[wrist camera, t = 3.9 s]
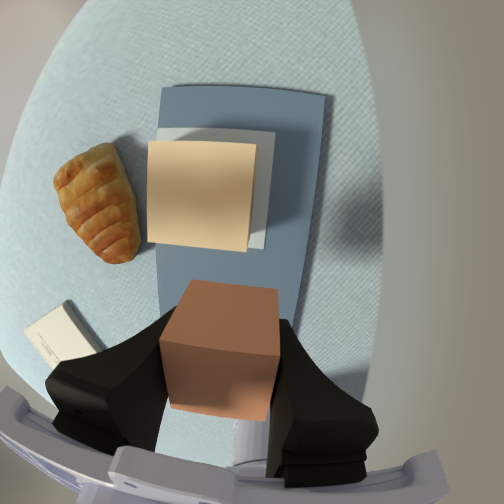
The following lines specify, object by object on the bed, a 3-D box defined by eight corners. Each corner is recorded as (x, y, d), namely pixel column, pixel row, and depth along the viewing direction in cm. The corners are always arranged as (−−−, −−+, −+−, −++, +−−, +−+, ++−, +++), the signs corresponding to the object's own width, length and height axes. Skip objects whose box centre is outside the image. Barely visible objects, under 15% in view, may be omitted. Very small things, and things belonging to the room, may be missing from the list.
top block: (267, 353, 14) (265, 421, 10) (193, 344, 14) (170, 407, 10) (277, 289, 13) (280, 356, 8) (191, 279, 13) (158, 339, 8)
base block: (250, 234, 19) (246, 252, 16) (167, 226, 19) (147, 242, 16) (258, 145, 17) (256, 144, 13) (169, 141, 17) (148, 140, 14)
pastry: (166, 240, 21) (146, 258, 17) (108, 269, 22) (86, 288, 19) (116, 135, 18) (87, 135, 14) (63, 177, 19) (35, 185, 16)
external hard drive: (112, 356, 26) (64, 370, 29) (69, 297, 24) (29, 324, 27) (106, 365, 25) (58, 377, 28) (60, 304, 23) (22, 331, 25)
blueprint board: (286, 344, 23) (286, 351, 22) (165, 329, 24) (162, 335, 23) (322, 98, 16) (325, 96, 15) (166, 89, 16) (161, 87, 15)
